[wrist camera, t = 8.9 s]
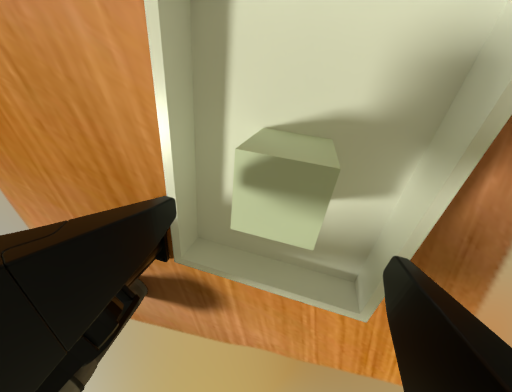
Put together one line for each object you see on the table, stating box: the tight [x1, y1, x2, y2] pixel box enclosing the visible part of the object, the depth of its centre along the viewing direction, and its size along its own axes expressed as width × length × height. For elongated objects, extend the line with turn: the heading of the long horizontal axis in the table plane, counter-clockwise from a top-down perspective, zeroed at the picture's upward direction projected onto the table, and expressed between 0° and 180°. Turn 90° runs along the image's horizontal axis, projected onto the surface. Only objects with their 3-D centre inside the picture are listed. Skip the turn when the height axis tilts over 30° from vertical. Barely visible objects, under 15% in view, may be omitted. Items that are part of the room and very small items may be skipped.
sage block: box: [230, 128, 341, 251], centre depth 13 cm, size 5×5×6 cm
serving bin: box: [144, 0, 512, 323], centre depth 15 cm, size 22×18×4 cm
